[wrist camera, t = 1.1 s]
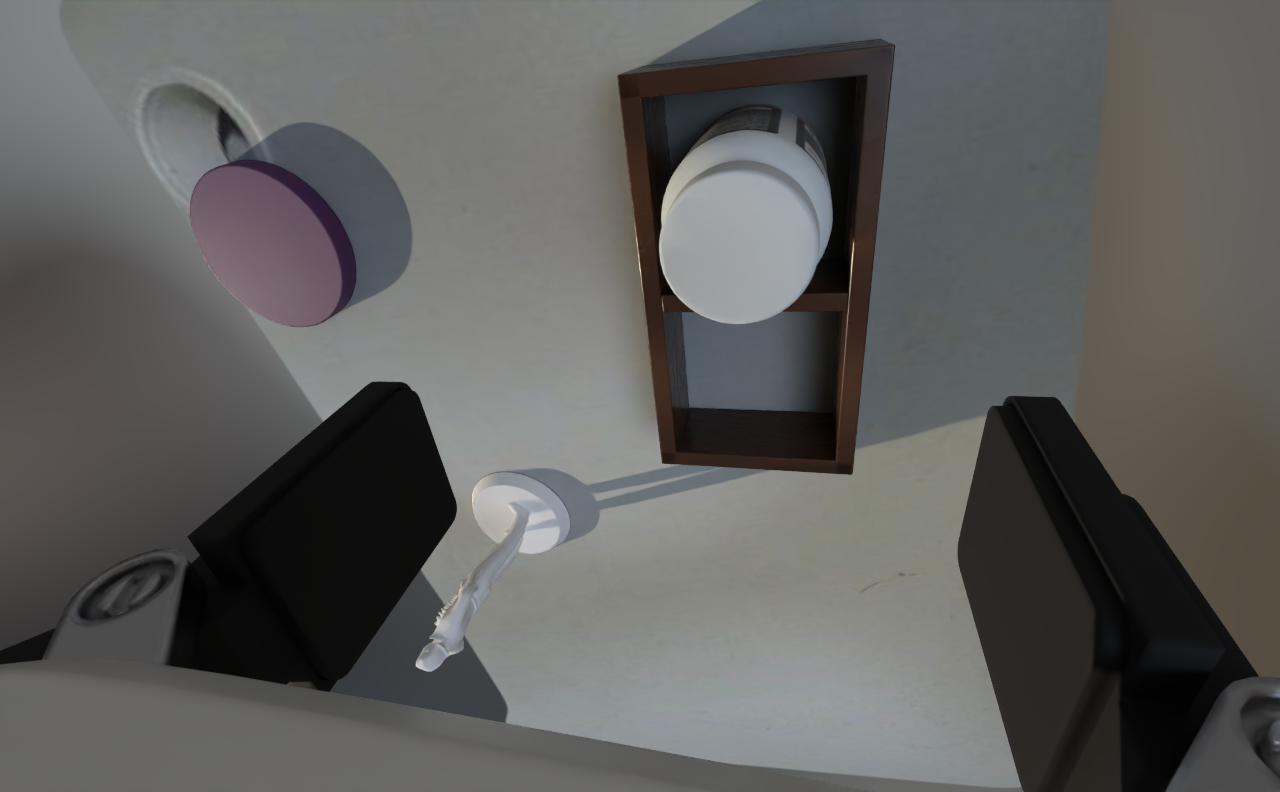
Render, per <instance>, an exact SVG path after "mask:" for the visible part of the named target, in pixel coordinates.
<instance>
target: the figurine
mask: <svg viewBox="0 0 1280 792" xmlns="http://www.w3.org/2000/svg"><path fill="white" fill-rule="evenodd" d="M472 504H473V510H474V516H475V518H476V521H477V523H478V524H479V526H480V527H481V529H482V530H483V531H484V532H485V533H486V534H487V535H488V536H489V537H490V538H491V539H492V540H494V541H495V542H497V543H498V545H497V546H496V547H495V548H494V549H493V550H492V551H491V552H490V553H489V554H488V555H487V556H486V557H485V558H484V559H482V560H481V561H480V562H479V563H478V564H477V565H476V566H475V567H474V569H473V570H472V572H471V573H470V575H469V577H468V578H467V579H464V580H462V581H461V589H459V593H458V594H456V596H454V598H452V600H450V601H451V602H448V605H447V606H444V608H441V610H442V612H438V614H439V615H440V617H439V616H437V620H438V622H435V625H437V628H436V630H435V631H434V633H433V634H432V635H431V636H430V639H434V641H433V642H432V643H429V644H428V645H427V646H425V647H424V648H423V651H422V652H421V654H420V655H419V657H418V659H417V661H416V667H418V668H419V669H423V670H424V671H429V672H430V671H433V670H434V669H436V668H438V667H439V666H440V665H441V664H442V662H443V661H444V659H445V658H446V657H448V656H449V655H452V654H455V653H458V652H460V651H461V650H463V645H464V643H463V636H464V634H465V631H466V628H467V626H468V623H469V621H470V619H471V617H472V615H473V613H474V612H476V611H477V610H478V607H479V606H480V605H481V604H482V603H483V602H484V601H485V600H486V599H487V597H488V595H489V593H490V591H491V586H492V585H493V584H494V583H495V582H496V580H497V579H498V578H499V577H500V576H501V574H502V573H503V572H504V571H505V570H506V569H507V568H508V567H509V565H510V564H511V562H512V561H513V559H514V558H515V556H516V554H517V552H522V553H531V554H532V553H540V552H544V551H547V550H549V549H551V548H554V547H556V546H557V545H559V544H561V543H562V542H563V541H564V540H565V539H566V537H567V535H568V533H569V529H570V518H569V514H568V511H567V509H566V507H565V506H564V504H563V502H562V501H561V500H560V498H559V497H558V496H557V495H556V494H555V493H554V492H553V491H552V490H551V489H549V488H548V487H547V486H545V485H544V484H542V483H541V482H539V481H537V480H535V479H533V478H531V477H528V476H525V475H522V474H517V473H512V472H499V473H493V474H490V475H488V476H485V477H484V478H482V479H481V480H480V481H479V482H478V483H477V484H476V485H475V487H474V490H473V492H472Z"/></svg>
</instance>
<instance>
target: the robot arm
mask: <svg viewBox="0 0 1280 792" xmlns="http://www.w3.org/2000/svg"><path fill="white" fill-rule="evenodd" d="M456 512H457V504H456V500H455V497H454V494H453V492H452V489H451V486H450V483H449V480H448V477H447V475H446V472H445V469H444V466H443V463H442V460H441V458H440V455H439V452H438V449H437V446H436V443H435V441H434V438H433V435H432V432H431V429H430V426H429V424H428V421H427V418H426V415H425V412H424V409H423V407H422V404H421V401H420V398H419V396H418V394H417V393H416V392H415V391H412V390H411V388H410V387H409V386H408V385H407V384H405V383H403V382H371V383H370V384H368V385H367V386H365V387H364V388H363V389H362V390H361V391H360V392H358V393H357V394H356V395H355V396H354V397H352V398H351V399H350V400H349V401H348V402H346V403H345V404H344V405H343V406H342V407H341V408H339V409H338V410H337V411H336V412H335V413H333V414H332V415H331V416H330V417H329V418H327V419H326V420H325V421H324V422H323V423H322V424H320V425H319V426H318V427H317V428H316V429H314V430H313V431H312V432H311V433H310V434H309V435H307V436H306V437H305V438H304V439H303V440H301V441H300V442H299V443H298V444H297V445H295V446H294V447H293V448H292V449H291V450H290V451H288V452H287V453H286V454H285V455H284V456H283V457H281V458H280V459H279V460H278V461H276V462H275V463H274V464H273V465H272V466H271V467H269V468H268V469H267V470H266V471H265V472H263V473H262V474H261V475H260V476H259V477H257V478H256V479H255V480H254V481H253V482H252V483H250V484H249V485H248V486H247V487H246V488H244V489H243V490H242V491H241V492H240V493H239V494H237V495H236V496H235V497H234V498H233V499H231V500H230V501H229V502H228V503H227V504H226V505H224V506H223V507H222V508H221V509H220V510H218V511H217V512H216V513H215V514H214V515H212V516H211V517H210V518H209V519H208V520H207V521H205V522H204V523H203V524H202V525H201V526H199V527H198V528H197V529H196V530H195V531H194V532H192V533H191V534H190V535H189V536H188V538H189V540H190V541H191V543H192V544H193V546H194V547H195V548H196V550H197V551H198V553H199V554H200V556H199V557H198V558H197V559H196V560H195V561H194V562H193V563H190V561H189V560H188V559H187V557H186V556H185V555H184V554H183V553H182V552H181V551H179V550H175V549H170V548H168V549H156V550H152V551H148V552H145V553H141V554H137V555H135V556H133V557H130V558H128V559H126V560H123V561H121V562H119V563H117V564H115V565H114V566H112V567H110V568H108V569H106V570H105V571H103V572H102V573H100V574H99V575H97V576H96V577H94V578H93V579H92V580H90V581H89V582H88V583H87V584H85V585H84V586H83V587H82V588H81V589H80V590H79V591H78V592H77V593H76V594H75V595H74V596H73V597H72V599H71V600H70V601H69V603H68V604H67V606H66V608H65V609H64V611H63V614H62V616H61V618H60V620H59V623H58V625H57V627H56V628H55V629H52V630H50V631H47V632H45V633H42V634H40V635H38V636H35V637H33V638H30V639H28V640H25V641H23V642H21V643H18V644H16V645H13V646H11V647H8V648H6V649H3V650H1V651H0V792H873V791H868V790H863V789H858V788H853V787H848V786H843V785H838V784H834V783H829V782H823V781H818V780H812V779H807V778H802V777H796V776H790V775H785V774H780V773H775V772H769V771H764V770H758V769H753V768H747V767H742V766H737V765H731V764H726V763H721V762H715V761H710V760H704V759H699V758H693V757H688V756H683V755H677V754H672V753H666V752H661V751H656V750H650V749H645V748H639V747H634V746H629V745H623V744H618V743H612V742H607V741H601V740H596V739H590V738H585V737H579V736H574V735H568V734H562V733H557V732H551V731H546V730H540V729H535V728H529V727H524V726H518V725H512V724H507V723H501V722H496V721H490V720H485V719H479V718H473V717H468V716H462V715H457V714H451V713H445V712H439V711H434V710H429V709H423V708H417V707H412V706H406V705H400V704H395V703H389V702H384V701H378V700H371V699H366V698H360V697H354V696H349V695H343V694H337V693H332V692H330V690H331V689H332V687H333V686H334V684H335V683H336V682H337V680H339V679H341V678H343V677H344V676H346V675H347V674H348V673H349V671H350V670H351V669H352V667H353V666H354V664H355V663H356V662H357V660H358V659H359V657H360V656H361V654H362V653H363V651H364V650H365V649H366V647H367V646H368V644H369V643H370V641H371V640H372V638H373V637H374V635H375V634H376V633H377V631H378V630H379V628H380V627H381V625H382V624H383V623H384V621H385V620H386V618H387V617H388V615H389V614H390V612H391V611H392V610H393V608H394V607H395V605H396V604H397V602H398V601H399V600H400V598H401V597H402V595H403V594H404V592H405V591H406V589H407V588H408V586H409V585H410V583H411V582H412V581H413V579H414V578H415V576H416V575H417V574H418V572H419V571H420V569H421V568H422V566H423V565H424V564H425V562H426V561H427V559H428V558H429V556H430V555H431V553H432V552H433V551H434V549H435V548H436V546H437V545H438V543H439V542H440V540H441V539H442V538H443V536H444V535H445V533H446V532H447V530H448V529H449V528H450V526H451V525H452V523H453V521H454V519H455V517H456ZM958 563H959V568H960V571H961V575H962V578H963V582H964V586H965V589H966V593H967V596H968V600H969V603H970V607H971V610H972V614H973V617H974V621H975V624H976V628H977V631H978V635H979V638H980V642H981V646H982V649H983V653H984V656H985V660H986V663H987V667H988V670H989V674H990V677H991V681H992V684H993V688H994V691H995V695H996V699H997V702H998V706H999V709H1000V713H1001V716H1002V720H1003V723H1004V727H1005V730H1006V734H1007V737H1008V741H1009V744H1010V748H1011V752H1012V755H1013V759H1014V762H1015V766H1016V769H1017V773H1018V776H1019V780H1020V783H1021V786H1022V789H1023V791H1024V792H1280V678H1272V677H1259V676H1258V674H1257V673H1256V671H1255V670H1254V668H1253V667H1252V666H1251V664H1250V663H1249V661H1248V660H1247V658H1246V657H1245V655H1244V654H1243V653H1242V651H1241V650H1240V648H1239V647H1238V645H1237V644H1236V643H1235V641H1234V640H1233V638H1232V637H1231V635H1230V634H1229V632H1228V631H1227V629H1226V628H1225V626H1224V625H1223V624H1222V622H1221V621H1220V619H1219V618H1218V616H1217V615H1216V613H1215V612H1214V611H1213V609H1212V608H1211V606H1210V605H1209V603H1208V602H1207V600H1206V599H1205V598H1204V596H1203V595H1202V593H1201V592H1200V590H1199V589H1198V588H1197V586H1196V585H1195V583H1194V582H1193V580H1192V579H1191V577H1190V576H1189V574H1188V573H1187V571H1186V570H1185V569H1184V567H1183V566H1182V564H1181V563H1180V561H1179V560H1178V558H1177V557H1176V556H1175V554H1174V553H1173V551H1172V550H1171V549H1170V547H1169V545H1168V544H1167V543H1166V541H1165V540H1164V538H1163V537H1162V535H1161V534H1160V532H1159V531H1158V530H1157V528H1156V527H1155V525H1154V524H1153V522H1152V521H1151V519H1150V518H1149V517H1148V515H1147V514H1146V512H1145V511H1144V509H1143V508H1142V506H1141V505H1140V504H1139V503H1138V502H1137V501H1136V500H1135V499H1134V498H1132V497H1130V496H1128V495H1125V494H1121V492H1120V491H1119V489H1118V488H1117V486H1116V485H1115V483H1114V482H1113V480H1112V479H1111V477H1110V476H1109V474H1108V473H1107V471H1106V470H1105V468H1104V467H1103V465H1102V464H1101V462H1100V461H1099V459H1098V458H1097V456H1096V455H1095V453H1094V452H1093V450H1092V449H1091V447H1090V446H1089V444H1088V443H1087V441H1086V440H1085V438H1084V437H1083V435H1082V434H1081V432H1080V431H1079V429H1078V428H1077V426H1076V425H1075V423H1074V422H1073V420H1072V419H1071V417H1070V416H1069V414H1068V413H1067V411H1066V410H1065V408H1064V407H1063V405H1062V404H1061V402H1060V401H1059V400H1058V399H1057V398H1054V397H1025V396H1009V397H1007V398H1006V399H1005V401H1004V403H1003V406H992V407H990V409H989V411H988V414H987V418H986V422H985V427H984V431H983V435H982V440H981V444H980V449H979V453H978V457H977V462H976V466H975V471H974V475H973V480H972V484H971V488H970V493H969V497H968V502H967V506H966V510H965V515H964V519H963V524H962V528H961V532H960V537H959V542H958ZM287 684H288V685H287Z"/></svg>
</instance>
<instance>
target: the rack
mask: <svg viewBox="0 0 1280 792" xmlns="http://www.w3.org/2000/svg"><path fill="white" fill-rule="evenodd" d="M894 51H895V45H894V44H891V43H889V42H887V41H885V40H882V39H876V40H867V41H858V42H850V43H841V44H832V45H823V46H814V47H805V48H797V49H788V50H779V51H770V52H761V53H753V54H744V55H735V56H726V57H717V58H709V59H700V60H691V61H682V62H673V63H665V64H656V65H647V66H642V67H639V68H636V69H634V70H631V71H628V72H625V73H623V74H620V75H618V85H619V94H620V102H621V111H622V120H623V128H624V137H625V146H626V154H627V163H628V172H629V180H630V189H631V198H632V207H633V215H634V224H635V233H636V241H637V250H638V259H639V267H640V276H641V285H642V293H643V302H644V311H645V319H646V328H647V337H648V345H649V354H650V363H651V371H652V380H653V389H654V397H655V406H656V415H657V423H658V432H659V441H660V449H661V458H662V463H663V464H682V465H699V466H715V467H732V468H749V469H765V470H782V471H798V472H815V473H832V474H848V475H851V474H852V473H853V465H854V454H855V444H856V434H857V424H858V414H859V404H860V394H861V384H862V373H863V363H864V353H865V343H866V333H867V323H868V313H869V303H870V292H871V282H872V272H873V262H874V252H875V242H876V232H877V222H878V211H879V201H880V191H881V181H882V171H883V161H884V151H885V141H886V130H887V120H888V110H889V100H890V90H891V80H892V71H893V61H894ZM848 77H857V81H856V95H855V109H854V123H853V137H852V151H851V165H850V179H849V193H848V207H847V221H846V235H845V249H844V259H843V258H830V259H820V261H819V263H818V264H817V266H816V269H815V272H814V275H813V277H812V279H811V281H810V283H809V284H808V286H807V288H806V289H805V290H804V292H803V293H802V294H801V295H800V297H799V298H798V299H797V300H796V301H795V302H794V303H793V304H791V305H790V306H789V307H788V308H786V309H785V310H783V311H840V319H839V333H838V347H837V361H836V375H835V389H834V403H833V413H806V412H778V411H750V410H722V409H694V408H689V399H688V387H687V375H686V362H685V350H684V337H683V325H682V312H695V311H693V310H692V309H690V308H689V307H688V306H686V305H685V304H684V303H683V302H682V301H681V300H680V299H679V298H678V297H677V296H676V294H675V293H674V292H673V290H672V289H671V287H670V286H669V284H668V282H667V280H666V278H665V276H664V273H663V270H662V266H661V262H660V254H659V240H660V233H661V229H662V224H661V214H662V204H663V198H664V195H665V192H666V188H667V186H668V183H669V181H670V179H671V175H670V162H669V150H668V137H667V125H666V112H665V100H664V96H667V95H677V94H687V93H697V92H707V91H717V90H727V89H737V88H747V87H757V86H767V85H777V84H787V83H798V82H808V81H818V80H828V79H838V78H848Z"/></svg>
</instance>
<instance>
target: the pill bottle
mask: <svg viewBox="0 0 1280 792" xmlns="http://www.w3.org/2000/svg"><path fill="white" fill-rule="evenodd" d="M832 222H833V208H832V200H831V192H830V185H829V180H828V175H827V167H826V161H825V156H824V153H823V150H822V147H821V145H820V143H819V140H818V138H817V137H816V135H815V134H814V132H813V130H812V129H811V128H810V127H809V126H808V125H807V124H806V123H805V122H804V121H803V120H802V119H801V118H800V117H798V116H797V115H795V114H794V113H792V112H790V111H788V110H786V109H783V108H781V107H777V106H773V105H765V104H760V105H749V106H744V107H740V108H737V109H735V110H733V111H731V112H729V113H727V114H725V115H724V116H722V117H720V118H719V119H718V120H717V121H715V122H714V123H713V124H712V125H711V126H710V127H709V128H708V129H707V130H706V131H705V132H704V133H703V134H702V135H701V137H700V138H699V140H698V141H697V142H696V144H695V145H694V146H693V147H692V148H691V150H690V151H689V153H688V154H687V155H686V157H685V158H684V159H683V161H682V162H681V163H680V165H679V166H678V167H677V169H676V170H675V172H674V174H673V175H672V177H671V179H670V181H669V183H668V186H667V188H666V192H665V195H664V198H663V204H662V214H661V224H662V229H661V233H660V240H659V254H660V262H661V266H662V270H663V273H664V276H665V278H666V280H667V282H668V284H669V286H670V287H671V289H672V290H673V292H674V293H675V294H676V296H677V297H678V298H679V299H680V300H681V301H682V302H683V303H684V304H685V305H686V306H688V307H689V308H690V309H692V310H693V311H695V312H696V313H698V314H700V315H702V316H704V317H706V318H708V319H711V320H714V321H718V322H722V323H729V324H748V323H754V322H758V321H762V320H765V319H768V318H770V317H773V316H775V315H777V314H778V313H780V312H782V311H783V310H785V309H786V308H788V307H789V306H790V305H791V304H793V303H794V302H795V301H796V300H797V299H798V298H799V297H800V295H801V294H802V293H803V292H804V290H805V289H806V288H807V286H808V284H809V283H810V281H811V279H812V277H813V275H814V272H815V269H816V266H817V264H818V263H819V261H820V259H821V258H822V256H823V254H824V251H825V249H826V247H827V244H828V241H829V237H830V233H831V229H832Z"/></svg>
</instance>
